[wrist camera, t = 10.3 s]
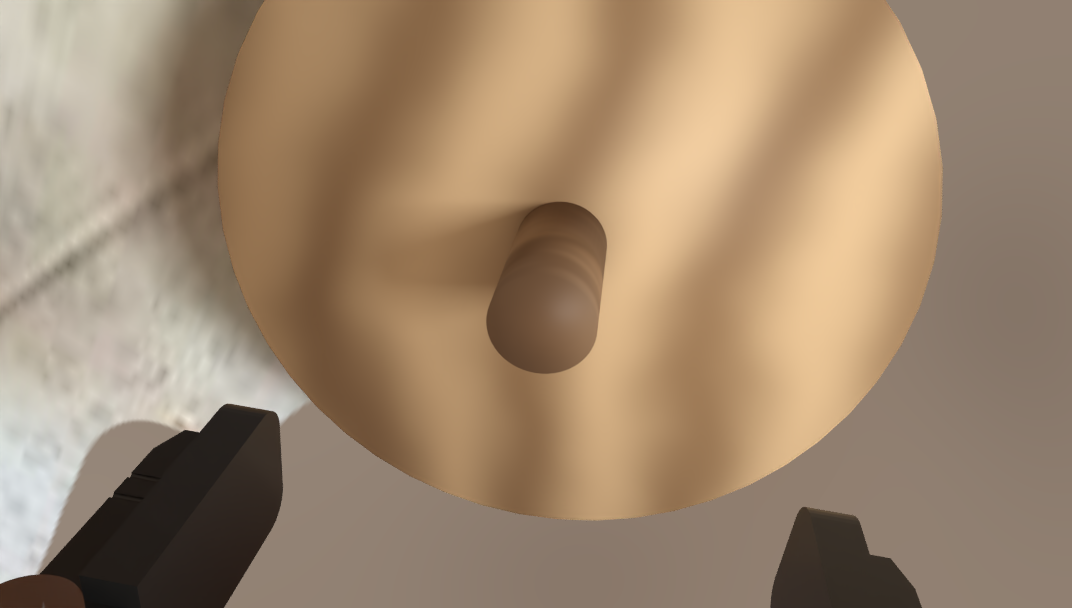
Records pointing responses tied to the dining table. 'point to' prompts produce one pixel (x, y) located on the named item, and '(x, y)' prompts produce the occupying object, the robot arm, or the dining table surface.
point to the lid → (581, 233)
